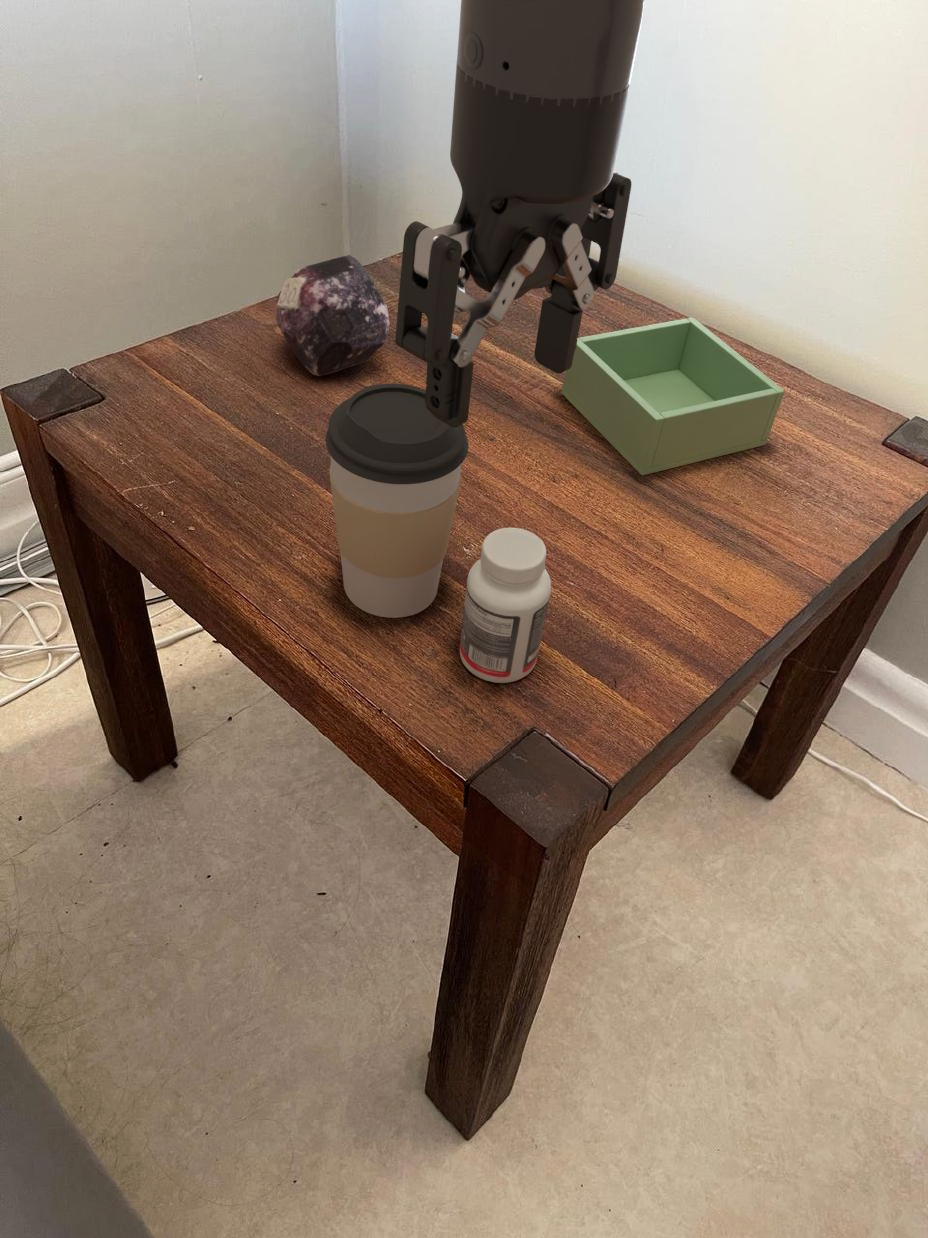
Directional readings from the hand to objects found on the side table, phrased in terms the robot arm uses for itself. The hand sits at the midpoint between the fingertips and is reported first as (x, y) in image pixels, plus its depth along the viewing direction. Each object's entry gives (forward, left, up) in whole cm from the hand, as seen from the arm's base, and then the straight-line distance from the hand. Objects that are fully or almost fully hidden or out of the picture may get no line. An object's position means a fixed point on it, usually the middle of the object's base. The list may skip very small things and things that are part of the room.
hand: (502, 391), depth 53 cm
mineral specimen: (+15, -35, -20) cm, 43 cm away
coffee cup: (+6, -5, -20) cm, 22 cm away
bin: (-16, -31, -20) cm, 40 cm away
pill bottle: (-2, +1, -20) cm, 20 cm away
